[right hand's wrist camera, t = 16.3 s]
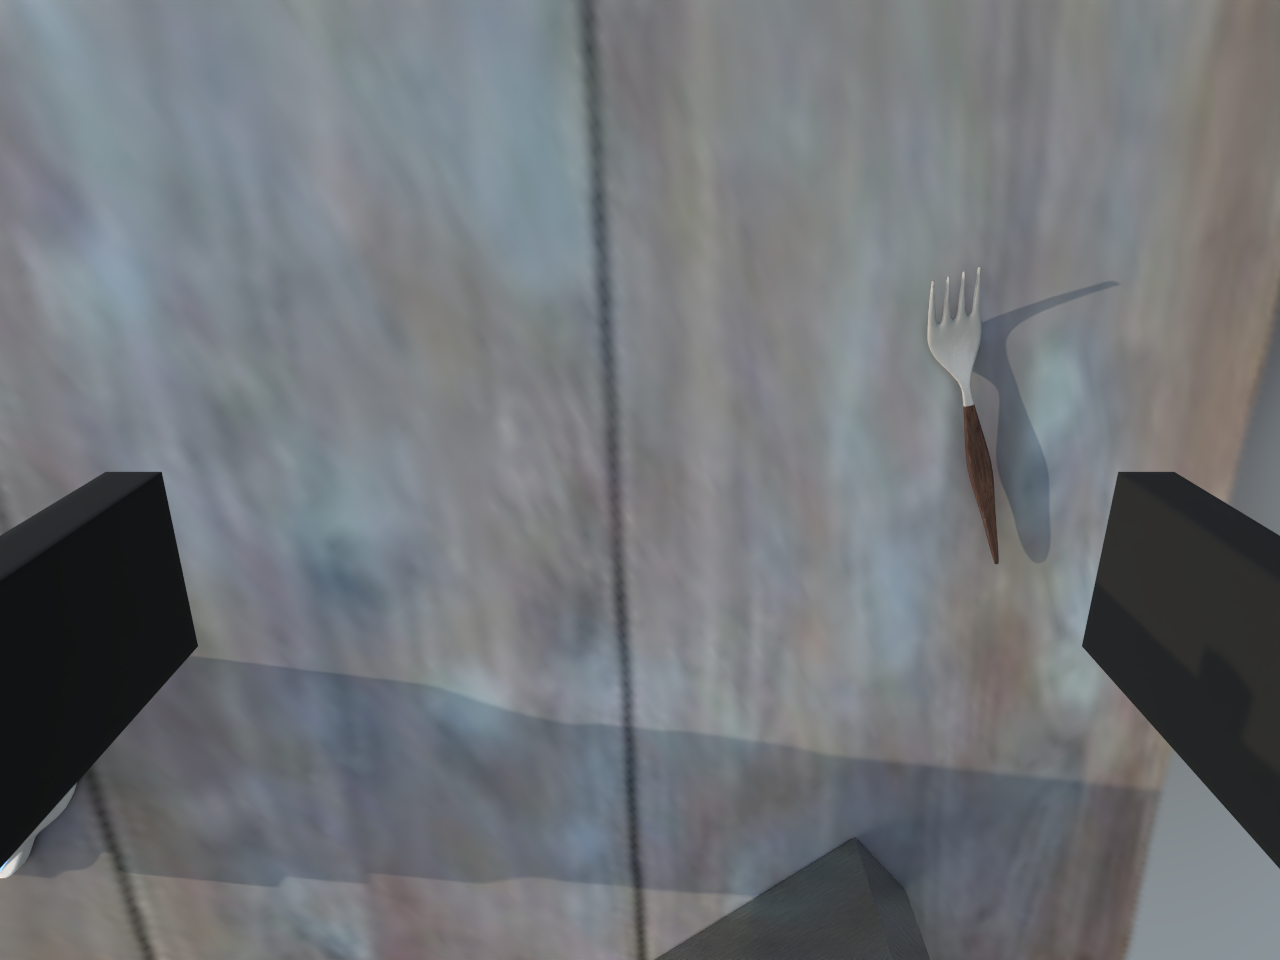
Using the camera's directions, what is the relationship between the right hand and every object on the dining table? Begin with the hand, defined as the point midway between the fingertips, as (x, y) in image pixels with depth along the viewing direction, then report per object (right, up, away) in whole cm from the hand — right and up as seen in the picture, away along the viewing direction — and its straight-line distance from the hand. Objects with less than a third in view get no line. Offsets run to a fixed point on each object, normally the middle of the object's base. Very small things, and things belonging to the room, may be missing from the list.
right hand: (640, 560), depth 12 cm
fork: (+17, +4, +32) cm, 36 cm away
